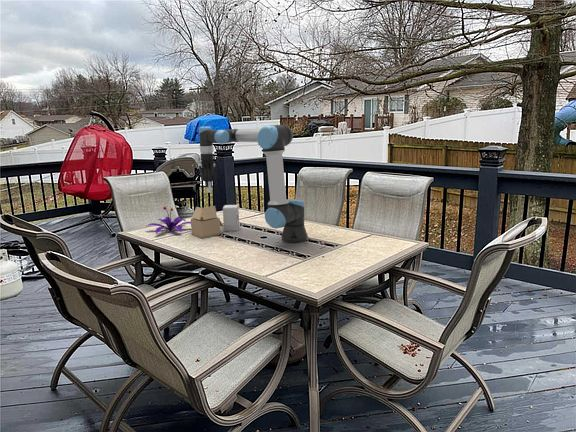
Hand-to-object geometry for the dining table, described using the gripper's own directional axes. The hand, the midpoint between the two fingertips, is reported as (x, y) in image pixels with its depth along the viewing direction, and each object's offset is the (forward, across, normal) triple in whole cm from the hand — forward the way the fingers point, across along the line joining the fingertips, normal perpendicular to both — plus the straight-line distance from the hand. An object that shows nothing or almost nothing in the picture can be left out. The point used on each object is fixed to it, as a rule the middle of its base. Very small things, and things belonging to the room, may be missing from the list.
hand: (209, 192), depth 255 cm
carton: (+25, +3, 0) cm, 25 cm away
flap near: (+15, +5, +8) cm, 17 cm away
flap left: (+15, +11, +2) cm, 19 cm away
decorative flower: (+26, +16, -22) cm, 37 cm away
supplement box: (+25, -13, +3) cm, 29 cm away
